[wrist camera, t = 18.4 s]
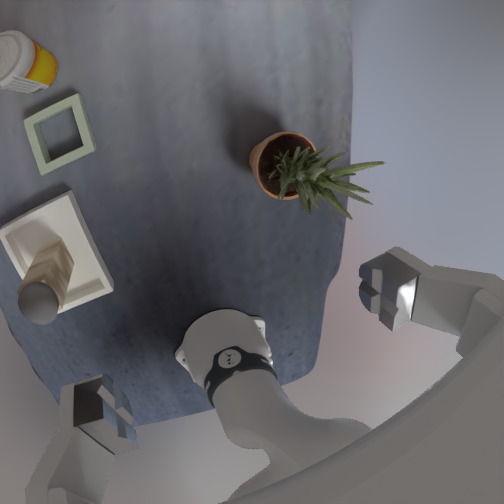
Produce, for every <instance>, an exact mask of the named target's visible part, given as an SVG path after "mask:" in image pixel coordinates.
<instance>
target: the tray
mask: <svg viewBox="0 0 504 504" xmlns="http://www.w3.org/2000/svg"><path fill="white" fill-rule="evenodd" d="M61 238H62V239H63V241H64V243H65V245H66V247H67V249H68V251H69V253H70V255H71V257H72V259H73V261H74V267H73V270H72V274H71V277H70V281H69V285H68V289H67V293H66V297H65V301H64V305H63V309H62V310H59V311H58V313H57V314H59V313H61V312H63V311H66V310H68V309H71V308H73V307H76V306H78V305H80V304H83V303H85V302H88V301H90V300H93V299H95V298H98V297H100V296H102V295H105V294H107V293H110V292H112V291H113V289H114V281H113V279H112V277H111V275H110V273H109V271H108V269H107V267H106V265H105V263H104V261H103V259H102V257H101V255H100V253H99V251H98V249H97V247H96V244H95V242H94V240H93V238H92V236H91V234H90V231H89V229H88V227H87V225H86V222H85V220H84V218H83V216H82V213H81V211H80V209H79V206H78V204H77V201H76V199H75V196H74V194H73V191H72V189H71V190H69V191H67V192H65V193H63V194H61V195H59V196H57V197H55V198H53V199H51V200H49V201H47V202H45V203H43V204H41V205H39V206H37V207H35V208H33V209H31V210H30V211H28V212H26V213H24V214H22V215H20V216H18V217H17V218H15V219H13V220H11V221H10V222H8V223H6V224H4V225H3V226H2V227H1V228H0V239H1V241H2V243H3V245H4V247H5V249H6V251H7V253H8V255H9V257H10V259H11V260H12V262H13V264H14V266H15V268H16V269H17V271H18V273H19V275H20V276H21V278H22V280H23V279H24V277H25V275H26V273H27V271H28V269H29V267H30V265H31V263H32V261H33V260H34V258H35V256H36V254H37V252H38V250H39V249H41V248H43V247H45V246H47V245H49V244H51V243H53V242H55V241H57V240H59V239H61Z"/></svg>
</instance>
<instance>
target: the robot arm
mask: <svg viewBox="0 0 504 504" xmlns="http://www.w3.org/2000/svg"><path fill="white" fill-rule="evenodd" d="M359 276H360V277H361V278H362V279H363V280H362V282H361V284H360V286H359V296H360V299H361V301H362V303H363V305H364V306H365V308H366V309H368V311H370V312H371V313H375V314H379V321H381V322H382V323H383V324H384V325H385V326H386V327H387V328H389V329H390V330H391V331H392V332H393V331H394V330H396V329H398V328H400V327H401V326H403V325H404V324H405V323H407V322H409V321H410V320H412V322H415V323H419V324H422V325H425V326H428V327H431V328H434V329H437V330H441V331H444V332H447V333H450V334H453V335H456V336H460V338H459V341H458V343H457V346H456V351H457V352H458V353H459V354H460V355H461V356H462V357H463V358H462V359H461V360H460V361H459V362H458V363H457V364H456V365H455V366H454V367H453V368H452V369H451V370H450V371H448V372H447V373H446V374H445V375H444V376H443V377H442V378H441V379H440V380H438V381H437V382H436V383H435V384H433V385H432V386H431V387H430V388H429V389H427V390H426V391H425V392H424V393H423V394H421V395H420V396H419V397H418V398H416V399H415V400H414V401H412V402H411V403H410V404H409V405H407V406H406V407H405V408H403V409H402V410H401V411H399V412H398V413H396V414H395V415H394V416H392V417H391V418H390V419H388V420H387V421H385V422H384V423H382V424H381V425H379V426H378V427H376V428H375V429H373V430H372V429H371V428H370V427H368V426H367V425H365V424H364V423H362V422H359V421H357V420H353V419H347V418H335V419H320V418H315V417H312V416H309V415H307V414H305V413H304V412H302V411H300V410H299V409H298V408H297V407H296V406H295V405H294V404H293V403H292V401H291V400H290V399H289V398H288V396H287V395H286V393H285V392H284V390H283V389H282V387H281V386H280V384H279V383H278V381H277V375H276V373H275V370H274V368H273V366H272V365H273V363H272V359H271V357H270V356H271V351H270V347H269V345H268V343H267V341H266V340H265V322H264V320H263V318H261V317H254V316H248V315H246V314H244V313H242V312H240V311H237V310H231V309H223V310H217V311H213V312H210V313H208V314H206V315H204V316H202V317H200V318H199V319H197V320H196V321H195V322H194V323H193V324H192V325H191V326H190V327H189V328H188V330H187V332H186V334H185V336H184V339H183V343H182V345H181V346H180V347H179V348H178V349H177V351H176V352H175V357H176V360H177V361H178V362H179V363H180V364H181V365H182V366H183V367H184V368H186V369H187V370H188V371H189V372H190V374H191V377H192V379H193V381H194V382H197V384H198V385H199V386H201V387H202V388H204V389H205V391H206V395H207V398H208V399H209V401H210V403H211V405H212V406H213V407H214V408H215V409H216V411H217V414H218V417H219V419H220V422H221V424H222V426H223V429H224V431H225V433H226V436H227V437H228V439H229V440H230V441H232V442H233V443H234V444H236V445H238V446H240V447H242V448H246V449H262V448H263V449H264V451H265V452H266V453H267V455H268V456H269V459H270V464H269V465H268V466H267V467H266V468H265V469H263V470H262V471H260V472H259V473H258V474H256V475H255V476H253V477H252V478H250V479H249V480H248V481H246V482H245V483H243V484H242V485H241V486H240V487H239V488H238V489H237V490H236V491H235V492H234V493H233V494H232V495H231V496H230V498H229V499H228V500H227V501H225V502H222V503H219V504H504V280H502V279H501V278H499V277H498V276H496V275H495V274H489V273H482V272H476V271H469V270H463V269H455V268H449V267H442V266H436V265H435V266H433V267H431V266H429V265H428V264H426V263H425V262H423V261H422V260H420V259H418V258H417V257H415V256H414V255H412V254H410V253H409V252H407V251H405V250H404V249H402V248H400V247H394V248H392V249H390V250H388V251H386V252H385V253H383V254H381V255H379V256H377V257H375V258H373V259H371V260H370V261H368V262H366V263H364V264H362V265H361V266H360V269H359ZM184 358H185V359H184ZM132 420H133V412H132V408H131V406H130V403H129V400H128V399H127V397H126V396H125V394H124V393H123V392H122V391H121V390H120V389H117V388H114V386H113V380H112V379H111V378H110V377H109V376H108V375H107V374H101V375H98V376H95V377H91V378H88V379H85V380H81V381H78V382H76V383H73V384H69V385H65V386H63V387H62V389H61V395H60V412H59V431H57V432H55V433H54V435H53V437H52V438H51V440H50V442H49V444H48V446H47V448H46V450H45V451H44V453H43V455H42V457H41V459H40V461H39V462H38V464H37V466H36V468H35V470H34V472H33V474H32V476H31V478H30V480H29V482H28V485H27V486H26V488H25V496H26V504H102V500H103V497H104V493H105V490H106V487H107V483H108V480H109V477H110V473H111V470H112V467H113V464H114V460H115V455H117V454H121V453H125V452H128V451H132V450H135V449H138V448H139V446H138V441H137V436H136V430H135V429H134V428H133V427H132V426H131V425H130V424H131V422H132Z"/></svg>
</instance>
